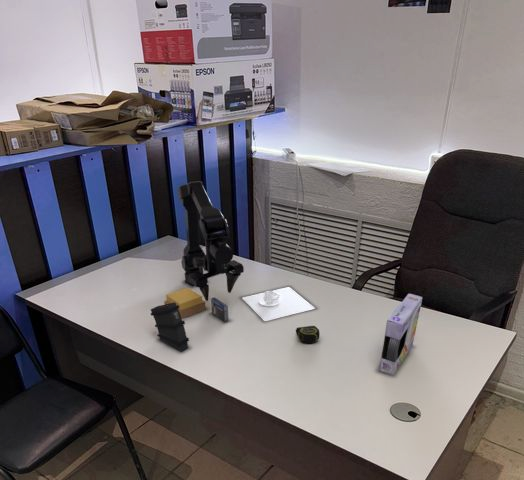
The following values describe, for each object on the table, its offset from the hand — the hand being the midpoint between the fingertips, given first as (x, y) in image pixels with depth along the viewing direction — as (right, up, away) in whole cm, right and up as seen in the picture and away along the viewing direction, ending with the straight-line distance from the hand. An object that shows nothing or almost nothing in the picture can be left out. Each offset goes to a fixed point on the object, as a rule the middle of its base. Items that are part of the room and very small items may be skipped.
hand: (218, 296), depth 167 cm
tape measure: (+29, -15, -9) cm, 34 cm away
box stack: (-13, -4, +10) cm, 16 cm away
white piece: (+21, -1, +13) cm, 24 cm away
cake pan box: (+55, -21, -19) cm, 62 cm away
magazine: (-14, -16, -9) cm, 23 cm away
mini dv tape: (0, -7, +4) cm, 8 cm away
